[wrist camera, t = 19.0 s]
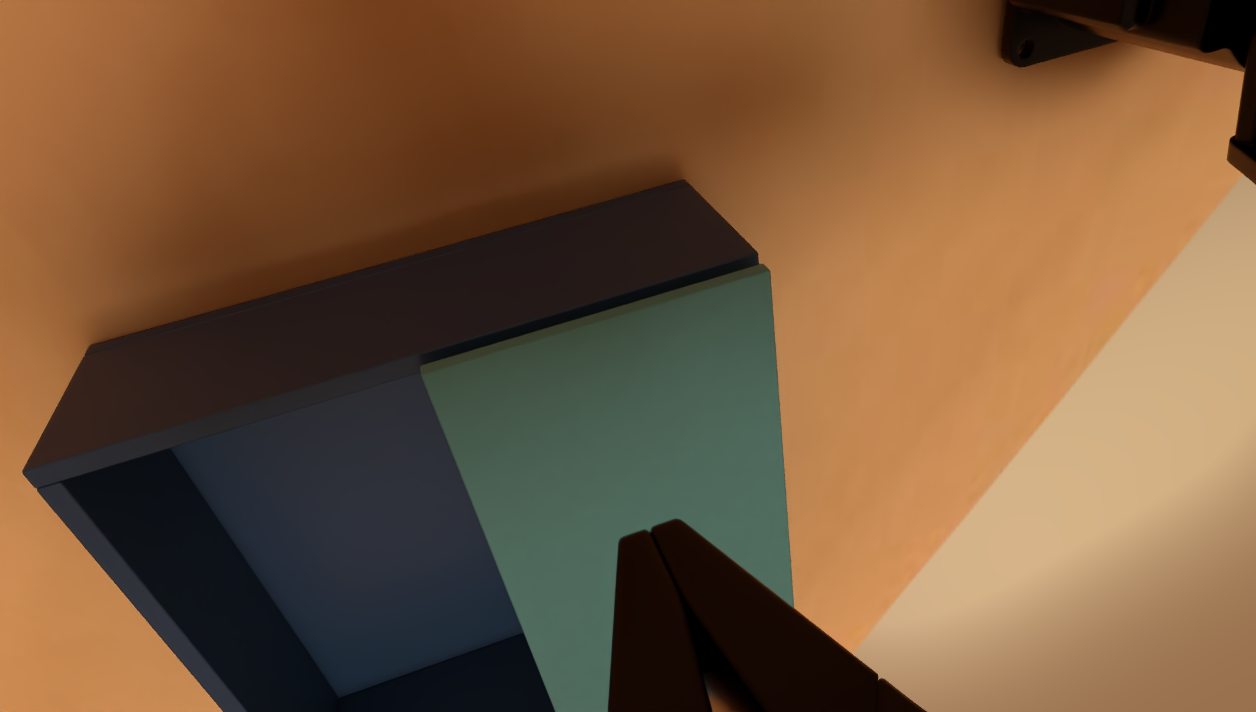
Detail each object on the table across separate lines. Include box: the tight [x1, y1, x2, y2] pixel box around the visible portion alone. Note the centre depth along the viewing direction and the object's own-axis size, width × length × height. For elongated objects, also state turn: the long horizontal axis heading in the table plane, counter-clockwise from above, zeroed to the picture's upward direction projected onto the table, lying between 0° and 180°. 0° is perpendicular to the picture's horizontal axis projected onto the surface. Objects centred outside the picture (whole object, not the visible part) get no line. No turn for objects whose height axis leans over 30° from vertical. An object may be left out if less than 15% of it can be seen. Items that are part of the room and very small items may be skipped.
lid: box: [420, 264, 794, 712], centre depth 22 cm, size 8×16×1 cm, turn 10°
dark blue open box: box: [22, 180, 759, 712], centre depth 23 cm, size 16×16×5 cm
